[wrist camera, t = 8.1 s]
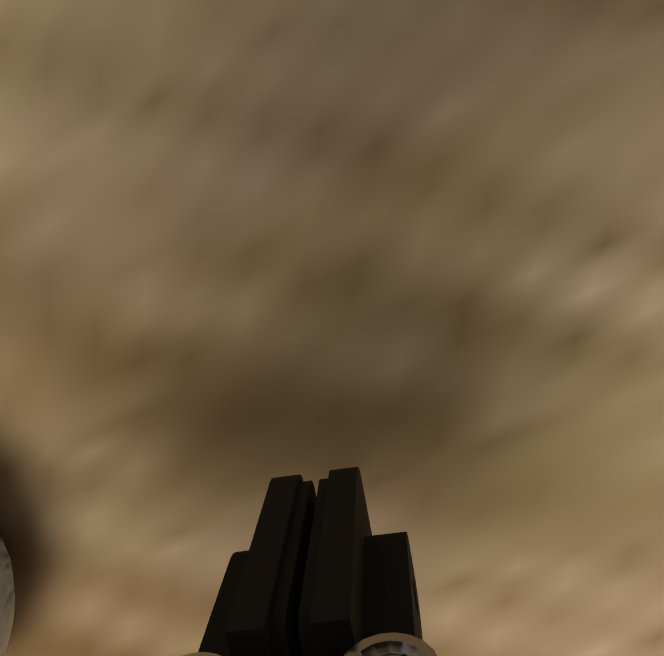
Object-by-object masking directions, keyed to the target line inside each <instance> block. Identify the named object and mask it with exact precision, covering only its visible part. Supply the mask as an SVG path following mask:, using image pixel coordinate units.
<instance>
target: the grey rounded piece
mask: <svg viewBox="0 0 664 656" xmlns="http://www.w3.org/2000/svg"><path fill="white" fill-rule="evenodd" d="M14 609H15V592H14V580H13V571H12V565H11V559H10V556H9V554H8V552H7V549H6V547H5V544H4V542H3V540H2V539H1V537H0V656H4V655H5V652H6V649H7V646H8V643H9V640H10V635H11V630H12V626H13V621H14Z"/></svg>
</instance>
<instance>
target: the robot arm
mask: <svg viewBox="0 0 664 656" xmlns="http://www.w3.org/2000/svg"><path fill="white" fill-rule="evenodd" d="M184 656H437V655H436V653H435V651H434V649H432V648H431V647H430V646H429V645H428V644H427V643H425V642H424V641H423V639H422V629H421V620H420V611H419V603H418V595H417V588H416V581H415V575H414V569H413V563H412V557H411V551H410V545H409V540H408V535H407V532H399V533H391V534H382V535H374V536H372V532H371V527H370V522H369V516H368V511H367V506H366V501H365V495H364V490H363V485H362V479H361V474H360V470H359V468H358V467H352V468H345V469H337V470H330V471H329V477H328V478H327V479H320V480H319V486H318V492H317V497H316V493H315V488H314V484H313V482H312V481H304V482H303V479H302V476H301V475H292V476H285V477H277V478H272V479H271V481H270V484H269V487H268V490H267V494H266V497H265V500H264V503H263V507H262V510H261V513H260V517H259V520H258V523H257V526H256V530H255V533H254V536H253V539H252V543H251V546H250V549H249V551H241V552H235V553H234V554H233V555H232V557H231V559H230V561H229V564H228V567H227V570H226V573H225V576H224V578H223V581H222V584H221V587H220V590H219V593H218V596H217V599H216V602H215V605H214V608H213V610H212V613H211V616H210V619H209V622H208V625H207V628H206V631H205V634H204V637H203V639H202V642H201V645H200V648H199V651H198V653H189V654H187V655H184Z"/></svg>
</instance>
